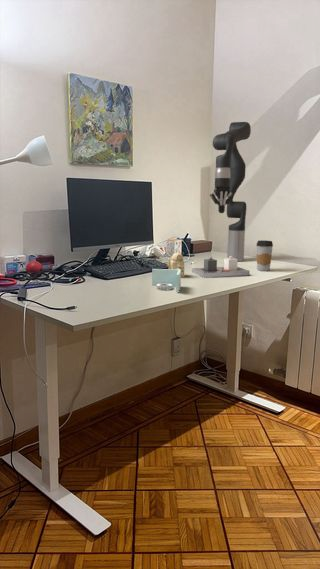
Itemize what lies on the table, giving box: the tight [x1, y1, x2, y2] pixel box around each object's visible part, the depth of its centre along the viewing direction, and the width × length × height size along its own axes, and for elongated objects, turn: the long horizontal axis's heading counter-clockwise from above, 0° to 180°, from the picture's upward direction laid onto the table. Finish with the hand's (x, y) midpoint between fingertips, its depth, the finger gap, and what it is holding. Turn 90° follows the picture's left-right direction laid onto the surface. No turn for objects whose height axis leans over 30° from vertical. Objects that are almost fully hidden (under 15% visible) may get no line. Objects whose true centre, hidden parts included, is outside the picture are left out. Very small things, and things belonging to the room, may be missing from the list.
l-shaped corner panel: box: [151, 268, 182, 293], centre depth 189 cm, size 12×12×8 cm
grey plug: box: [203, 256, 218, 272], centre depth 222 cm, size 5×5×8 cm
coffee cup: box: [256, 239, 274, 272], centre depth 237 cm, size 8×8×15 cm
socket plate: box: [191, 266, 250, 279], centre depth 224 cm, size 14×24×3 cm, turn 109°
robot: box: [166, 245, 188, 278], centre depth 214 cm, size 10×8×15 cm
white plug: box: [223, 256, 238, 270], centre depth 226 cm, size 5×5×8 cm
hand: (221, 213), depth 231 cm, fingers closed
